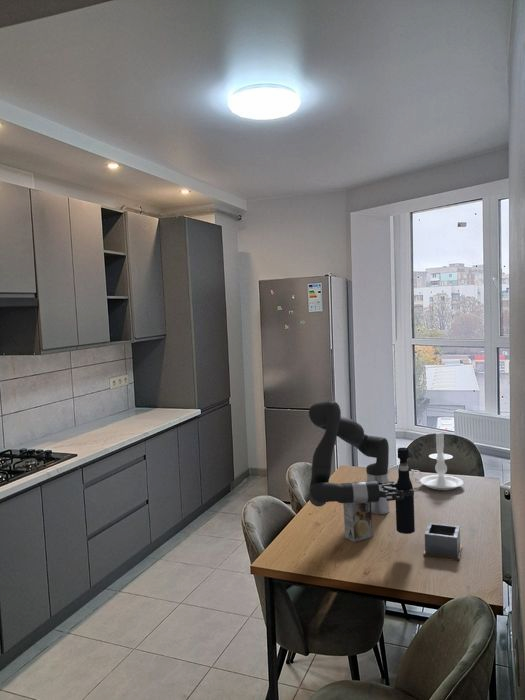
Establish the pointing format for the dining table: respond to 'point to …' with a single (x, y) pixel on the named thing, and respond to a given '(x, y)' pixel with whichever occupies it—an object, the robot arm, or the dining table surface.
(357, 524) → the coffee box
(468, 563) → the dining table surface
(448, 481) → the candlestick
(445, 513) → the dining table surface
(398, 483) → the wine bottle
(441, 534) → the bottle sleeve
